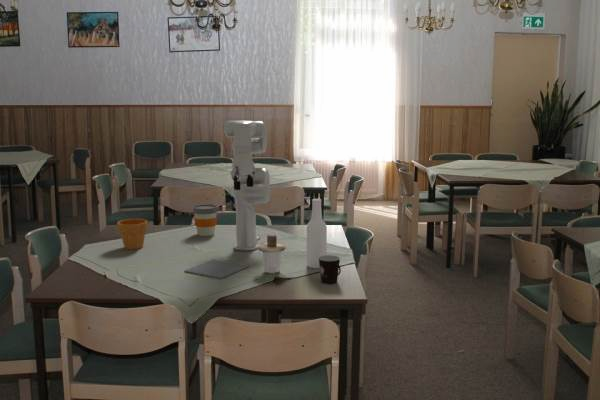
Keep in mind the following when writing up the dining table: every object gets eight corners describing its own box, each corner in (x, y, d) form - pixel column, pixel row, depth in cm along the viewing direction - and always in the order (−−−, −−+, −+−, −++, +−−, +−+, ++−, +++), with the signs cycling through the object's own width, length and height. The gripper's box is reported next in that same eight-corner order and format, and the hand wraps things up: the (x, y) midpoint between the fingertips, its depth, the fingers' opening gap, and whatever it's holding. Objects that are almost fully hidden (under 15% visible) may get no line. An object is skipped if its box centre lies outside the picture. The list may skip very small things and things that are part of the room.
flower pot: (113, 249, 303) (111, 223, 300) (128, 242, 316) (127, 217, 314) (139, 251, 299) (137, 225, 297) (153, 244, 313) (152, 219, 310)
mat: (213, 260, 284) (213, 259, 284) (249, 266, 274) (249, 265, 274) (184, 271, 267) (184, 270, 267) (221, 279, 257) (221, 277, 257)
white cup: (279, 274, 264) (278, 251, 262) (261, 273, 265) (260, 250, 263) (283, 268, 271) (283, 246, 269) (265, 267, 273) (265, 245, 271)
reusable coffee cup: (195, 237, 326) (194, 209, 324) (193, 232, 338) (192, 205, 336) (219, 236, 329) (218, 208, 326) (216, 230, 341) (215, 204, 338)
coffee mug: (317, 278, 257) (317, 255, 255) (338, 278, 258) (338, 254, 256) (320, 287, 246) (320, 263, 244) (342, 287, 247) (342, 262, 245)
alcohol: (304, 263, 278) (304, 198, 273) (323, 262, 280) (323, 197, 275) (309, 269, 270) (309, 201, 264) (328, 268, 272) (329, 200, 266)
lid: (267, 243, 274) (267, 231, 273) (291, 247, 269) (291, 234, 268) (252, 250, 264) (252, 237, 263) (276, 253, 258) (276, 240, 257)
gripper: (247, 147, 285) (247, 184, 288) (224, 151, 270) (225, 190, 273) (260, 148, 281) (261, 186, 284) (238, 152, 266) (239, 191, 270)
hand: (243, 188), depth 279 cm, fingers open, 9 cm apart
